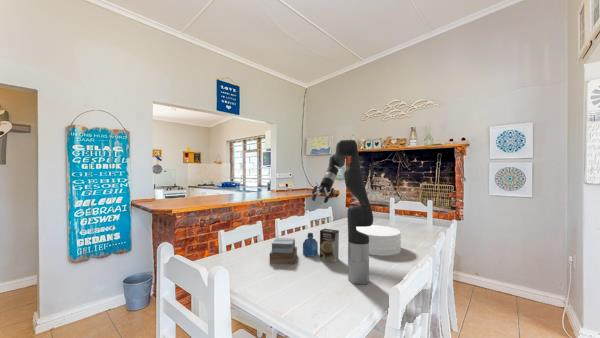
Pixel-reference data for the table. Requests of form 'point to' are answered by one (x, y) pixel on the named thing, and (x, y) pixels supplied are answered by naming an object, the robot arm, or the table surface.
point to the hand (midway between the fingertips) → (318, 201)
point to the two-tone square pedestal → (283, 251)
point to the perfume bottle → (310, 246)
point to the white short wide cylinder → (382, 239)
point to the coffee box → (329, 245)
